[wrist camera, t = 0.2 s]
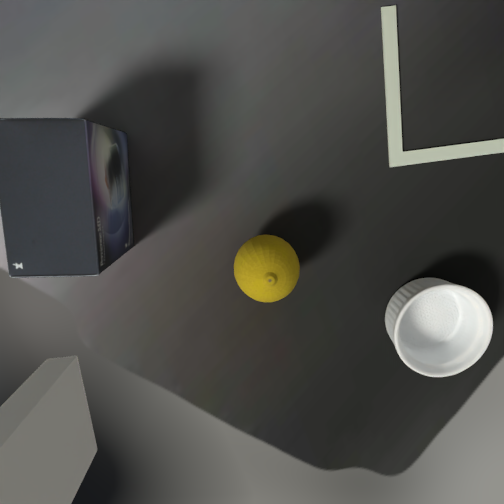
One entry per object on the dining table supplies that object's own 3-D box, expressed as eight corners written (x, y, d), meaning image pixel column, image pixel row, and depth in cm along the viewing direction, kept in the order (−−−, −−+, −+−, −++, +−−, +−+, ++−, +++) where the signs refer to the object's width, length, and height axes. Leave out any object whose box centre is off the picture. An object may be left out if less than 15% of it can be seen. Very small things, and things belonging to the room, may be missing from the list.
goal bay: (380, 8, 34) (381, 7, 34) (559, -16, 34) (561, -16, 34) (389, 167, 37) (390, 167, 37) (554, 145, 37) (555, 145, 37)
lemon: (287, 222, 38) (300, 238, 30) (297, 279, 39) (311, 308, 31) (228, 234, 38) (226, 252, 30) (240, 290, 39) (241, 321, 31)
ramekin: (418, 372, 42) (438, 396, 37) (360, 316, 40) (374, 334, 36) (484, 313, 40) (513, 330, 36) (427, 253, 39) (450, 263, 35)
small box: (139, 248, 38) (102, 280, 28) (68, 249, 38) (4, 281, 27) (131, 130, 36) (87, 116, 25) (55, 130, 35) (-19, 117, 25)
